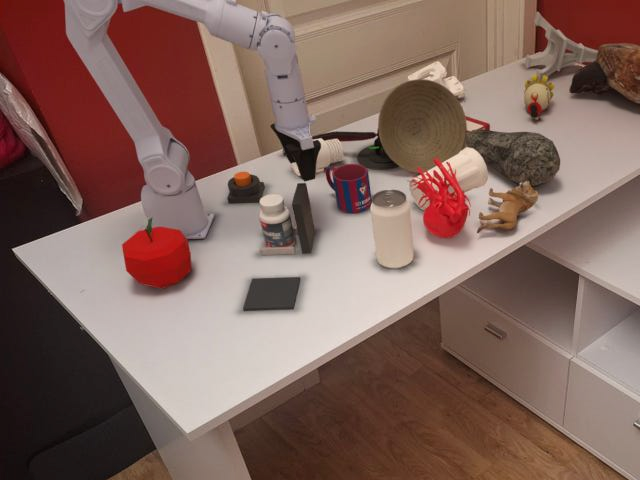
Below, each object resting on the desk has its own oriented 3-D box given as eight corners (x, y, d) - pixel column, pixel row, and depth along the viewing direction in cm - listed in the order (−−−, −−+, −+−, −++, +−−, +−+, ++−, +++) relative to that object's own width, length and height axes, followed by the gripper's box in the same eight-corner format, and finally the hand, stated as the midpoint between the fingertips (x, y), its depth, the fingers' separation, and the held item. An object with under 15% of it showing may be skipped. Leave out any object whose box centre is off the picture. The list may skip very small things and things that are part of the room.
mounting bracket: (457, 70, 164) (417, 91, 165) (467, 95, 168) (427, 115, 169) (445, 56, 173) (406, 76, 174) (455, 80, 177) (417, 99, 178)
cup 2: (420, 174, 126) (480, 145, 133) (399, 175, 133) (456, 147, 139) (436, 216, 130) (493, 185, 136) (414, 215, 136) (470, 186, 142)
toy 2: (548, 95, 155) (555, 67, 165) (516, 96, 156) (525, 68, 167) (549, 126, 160) (556, 97, 170) (518, 126, 161) (527, 97, 172)
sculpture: (583, 133, 175) (666, 129, 157) (561, 68, 166) (646, 55, 148) (622, 101, 182) (705, 94, 163) (602, 36, 173) (689, 21, 154)
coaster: (243, 310, 112) (242, 308, 111) (252, 280, 118) (252, 278, 117) (293, 309, 112) (293, 306, 112) (300, 279, 118) (300, 276, 117)
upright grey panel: (260, 255, 123) (247, 205, 116) (267, 233, 128) (255, 184, 121) (310, 253, 123) (300, 203, 116) (315, 231, 128) (306, 182, 121)
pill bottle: (260, 248, 125) (248, 204, 118) (277, 232, 128) (266, 189, 122) (285, 254, 123) (275, 210, 117) (301, 238, 127) (292, 195, 121)
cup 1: (352, 217, 132) (347, 184, 127) (319, 198, 137) (314, 166, 132) (379, 203, 135) (375, 171, 131) (346, 186, 140) (341, 154, 136)
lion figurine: (496, 168, 131) (542, 180, 131) (493, 190, 136) (538, 201, 135) (474, 221, 123) (524, 234, 123) (472, 242, 128) (520, 255, 127)
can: (385, 273, 119) (377, 212, 110) (371, 254, 123) (363, 193, 115) (419, 263, 121) (415, 202, 113) (405, 244, 125) (399, 184, 117)
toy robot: (376, 175, 143) (369, 118, 135) (346, 153, 150) (338, 99, 142) (424, 157, 148) (420, 102, 140) (393, 137, 155) (388, 84, 147)
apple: (191, 294, 115) (172, 242, 108) (125, 297, 114) (102, 246, 107) (204, 256, 123) (187, 207, 116) (142, 260, 122) (121, 210, 115)
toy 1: (288, 169, 151) (284, 148, 151) (380, 138, 146) (375, 116, 147) (282, 165, 148) (278, 144, 149) (376, 133, 144) (371, 111, 145)
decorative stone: (484, 151, 151) (456, 173, 146) (480, 108, 144) (450, 130, 139) (570, 178, 141) (542, 203, 136) (570, 133, 134) (541, 158, 129)
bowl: (370, 83, 144) (377, 74, 137) (455, 89, 150) (467, 81, 142) (372, 175, 147) (379, 171, 140) (456, 178, 153) (467, 174, 145)
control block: (228, 203, 136) (224, 189, 134) (234, 187, 140) (231, 174, 138) (259, 202, 136) (256, 188, 134) (264, 187, 140) (261, 173, 138)
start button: (234, 187, 135) (232, 179, 134) (237, 179, 137) (235, 171, 136) (250, 187, 135) (248, 178, 134) (253, 179, 137) (251, 171, 136)
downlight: (299, 185, 144) (343, 175, 148) (303, 163, 138) (349, 154, 142) (283, 154, 145) (327, 145, 150) (287, 131, 139) (333, 123, 144)
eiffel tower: (524, 64, 187) (625, 78, 195) (537, 83, 177) (643, 97, 185) (536, 11, 178) (641, 28, 186) (550, 28, 168) (661, 45, 177)
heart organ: (428, 251, 121) (440, 186, 114) (400, 219, 129) (410, 157, 122) (477, 248, 126) (491, 185, 119) (447, 218, 134) (459, 158, 127)
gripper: (325, 107, 114) (337, 182, 123) (296, 77, 123) (309, 149, 132) (283, 116, 111) (298, 192, 121) (257, 84, 120) (273, 157, 130)
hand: (302, 170), depth 126 cm, fingers open, 7 cm apart
